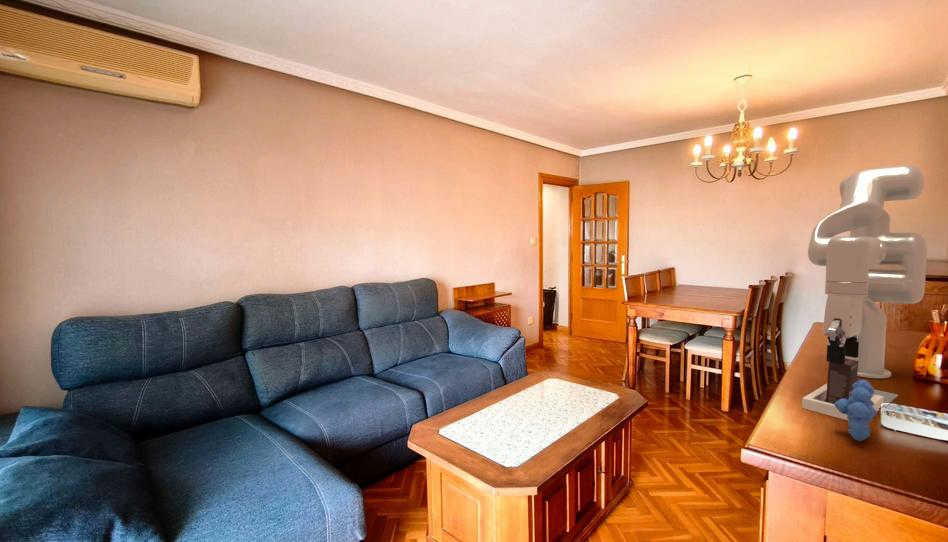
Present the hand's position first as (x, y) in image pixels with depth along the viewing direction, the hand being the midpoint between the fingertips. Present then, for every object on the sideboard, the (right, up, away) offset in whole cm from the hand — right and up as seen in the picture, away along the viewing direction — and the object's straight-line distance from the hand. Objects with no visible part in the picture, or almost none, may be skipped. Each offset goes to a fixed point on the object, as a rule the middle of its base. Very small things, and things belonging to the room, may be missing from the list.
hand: (842, 359), depth 97 cm
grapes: (-9, -14, -12) cm, 20 cm away
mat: (+14, -11, +10) cm, 20 cm away
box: (+1, -13, +1) cm, 13 cm away
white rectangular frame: (+2, -12, +2) cm, 13 cm away
